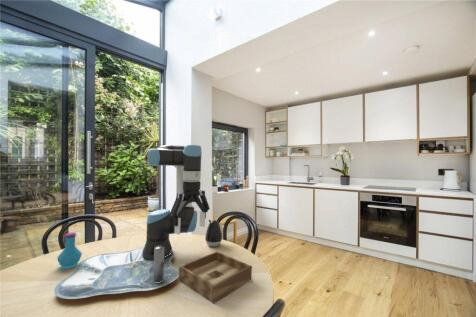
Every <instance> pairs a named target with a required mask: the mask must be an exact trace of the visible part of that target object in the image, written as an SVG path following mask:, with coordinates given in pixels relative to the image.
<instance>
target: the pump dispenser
mask: <svg viewBox="0 0 476 317" xmlns="http://www.w3.org/2000/svg"><path fill="white" fill-rule="evenodd" d="M208 222H209V224H208V226H207V229H206V232H205V237H204V238H205V242H206V244H207V245H208V246H209V247H212V248H215V247H218V246H220V245H221V243H222V240H223V235H222V234H223V233H222V228H221V225H220V222H218V221H217V220H215V219H213V220H211V219H209V220H208Z"/></svg>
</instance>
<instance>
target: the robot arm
mask: <svg viewBox="0 0 476 317" xmlns="http://www.w3.org/2000/svg"><path fill="white" fill-rule="evenodd" d="M147 164H148V165H149V166H160V167H161V166H165V167H167V166H168V167H169V166H170V167H171V166H172V167H174V168H175V170H176V171H175V172H176V174H175V175H176V177H175V178H176V180H175V181H176V185H175V186H176V188H175V189H176V190H175V191H176V196H175V199H174V200H175V201H174V203H173V205H172V207H171V209H169V208H163V209H157V210H154V211H151V212H149V213H148V214H147V216H146V217H147V218H146V241H145V243H144V244H145V245H144V246H143V249H142V254H141V256H142V258H143V259H144V260H149V261H154V248H155V247H156V246H164V257H165V256H167V255H169V254H170V253H171V252H172V253H173V247H172V244H171V240H170V235H178V236H179V235H181V234H188V233H193V232H194V231H195V230H196V228H197V224H198V223H197V222H198V211H197V210H195V207H194V206H193V205H192V203H195V204H196V205H197V207H198V208H199V209H200V211H199V226H200V227H202V228H205V226H206V219H207V218H206V217H207V213H208V212H209V210H210V205H209V203H208V199H207V197H206V191H205V190H201V179H202V178H201V176H202V173H201V172H202V146H201V145H198V144H197V145H196V144H186V145H171V144H166V145H160V146H157V147H156V148H150V149H148V152H147Z"/></svg>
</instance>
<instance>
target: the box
mask: <svg viewBox="0 0 476 317" xmlns="http://www.w3.org/2000/svg"><path fill="white" fill-rule="evenodd" d="M252 268H253V266H252V265H250V264H248V263H246V262H243V261H241V260H239V259H236V258H233V257H231V256H229V255H227V254H224V253H223V252H220V251H215V252H212V253H210V254H208V255H207V254H206V255H205V256H203V257H199V258H197V259H195V260H192V261H190V262H186V263H185V264H182V265H180V266H178V281H179V282H180V283H182V284H183V285H184V286H186V287H188V288H190V289H191V290H192V291H194V292H195V293H197V294H199V296H201V297H203V298H204V299H206V300H207V301H209V302H210V303H212V304H216V303H217V302H219V301H221V300H222V299H223V298H226V297H227V296H229V295H230V294H231V293H233V292H235V291H236V290H238V289H239V288H241V287H242V286H244V285H245V284H247V283H249V282H250V280H251V281H252V276H253V275H252V272H253V269H252ZM215 276H216V277H217V278H215Z"/></svg>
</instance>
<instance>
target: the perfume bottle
mask: <svg viewBox="0 0 476 317" xmlns="http://www.w3.org/2000/svg"><path fill="white" fill-rule="evenodd" d="M76 236H77V233H76V232H68V233H66V234H65V235H64V237H65V247H64V249H63V250H62V251H61V253H59V255H57V261H58V263H59V265H60V269H62V270H63V269H64V270H65V269H71V268H74V267H76V266H78V265H79V261H80V259H81V258H82V255H83V253H82V251H81V250H79V249H78V247H77V246H76Z"/></svg>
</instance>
